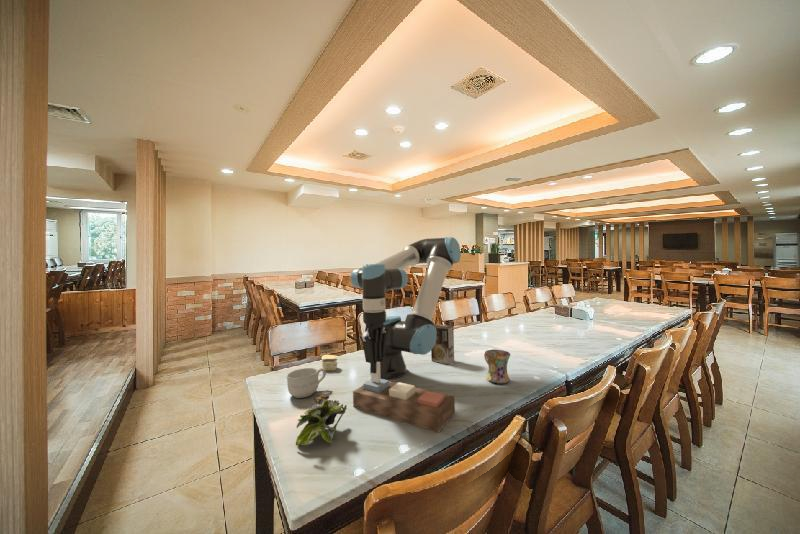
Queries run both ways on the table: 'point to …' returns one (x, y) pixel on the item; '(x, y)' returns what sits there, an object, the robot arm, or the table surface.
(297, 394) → the teacup
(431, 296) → the robot arm
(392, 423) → the table surface
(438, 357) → the coffee box
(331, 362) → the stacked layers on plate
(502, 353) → the mug
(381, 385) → the key blue
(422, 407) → the key panel
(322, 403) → the green leafy cluster
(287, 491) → the table surface
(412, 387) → the key cream
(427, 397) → the key red
